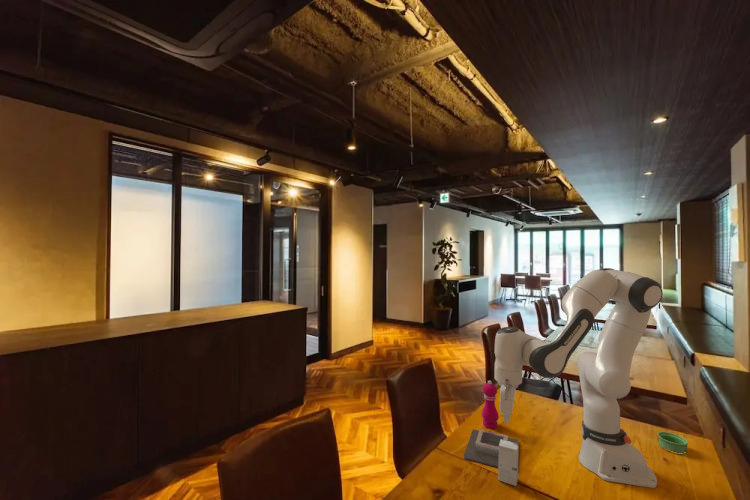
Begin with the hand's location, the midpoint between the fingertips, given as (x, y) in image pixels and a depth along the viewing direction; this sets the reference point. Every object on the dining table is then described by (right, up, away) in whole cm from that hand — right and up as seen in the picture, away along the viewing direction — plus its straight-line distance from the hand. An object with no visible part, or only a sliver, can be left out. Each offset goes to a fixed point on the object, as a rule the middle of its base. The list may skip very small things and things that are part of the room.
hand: (507, 415), depth 112 cm
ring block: (+1, -22, +16) cm, 28 cm away
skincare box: (0, -22, 0) cm, 22 cm away
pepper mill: (+6, -22, +35) cm, 42 cm away
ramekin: (+72, -22, +17) cm, 77 cm away
